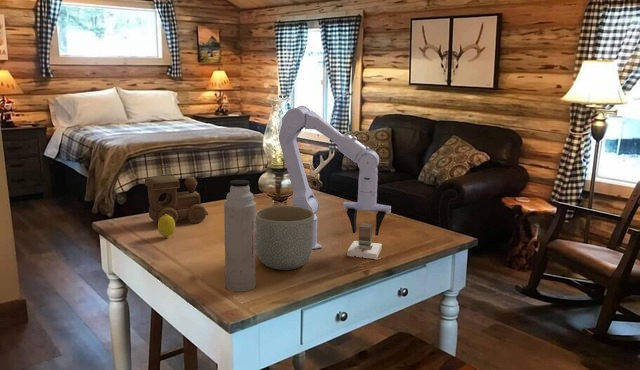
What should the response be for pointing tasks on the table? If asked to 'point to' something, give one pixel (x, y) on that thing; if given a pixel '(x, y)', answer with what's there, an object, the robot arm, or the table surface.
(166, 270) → the table surface
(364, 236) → the post
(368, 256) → the sleeve block
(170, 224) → the lemon
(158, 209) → the wooden toy train
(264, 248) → the planter
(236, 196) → the thermos bottle
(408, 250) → the table surface
